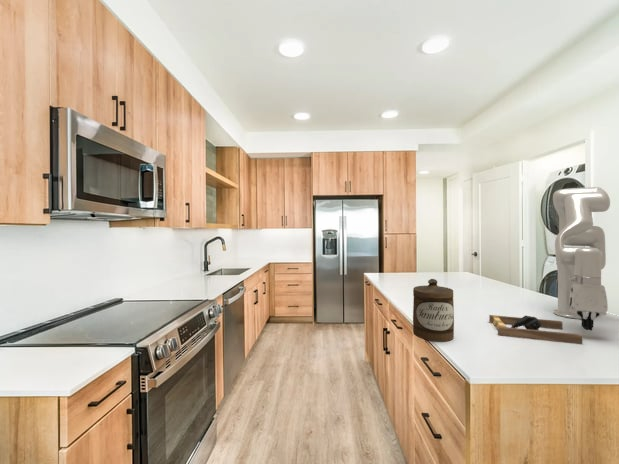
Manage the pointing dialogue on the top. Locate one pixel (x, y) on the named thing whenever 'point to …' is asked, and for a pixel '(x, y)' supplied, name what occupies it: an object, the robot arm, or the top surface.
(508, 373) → the top surface
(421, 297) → the wooden container
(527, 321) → the power plug
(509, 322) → the brown wooden u-shaped frame
